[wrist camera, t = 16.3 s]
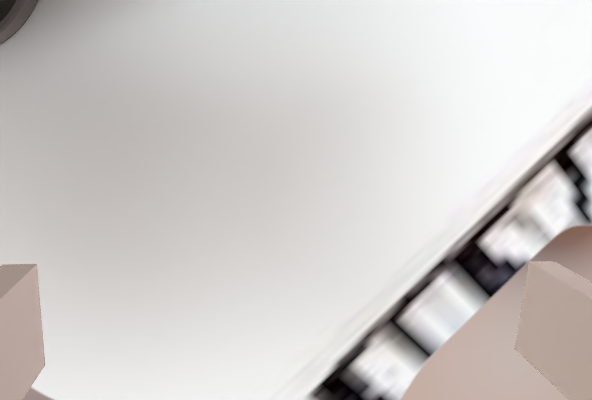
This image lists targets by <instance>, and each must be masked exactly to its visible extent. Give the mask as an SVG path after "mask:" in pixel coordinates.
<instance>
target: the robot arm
mask: <svg viewBox="0 0 592 400" xmlns="http://www.w3.org/2000/svg"><path fill="white" fill-rule="evenodd" d="M36 3H37V0H0V44H1V43H3V42H4V41H6V40H7V39H8V38H10V37H11V36H12V35H13V34H14V33H15V32H16V31H17V30H18V29H19V28H20V27H21V26H22V25H23V24H24V23H25V21H26V20H27V18H28V17H29V16H30V14H31V12H32V11H33V9H34V7H35V5H36ZM515 350H516V351H518V353H520V354H521V355H522V356H523V357H524V358H525V359H526V360H527V361H528V362H529V363H530V364H531V365H533V367H535V368H536V369H537V370H538V371H539V372H540V373H541V374H542V375H543V376H544V377H545V378H546V379H548V380H549V381H550V382H551V383H552V384H553V385H554V386H555V387H556V388H557V389H558V390H559V391H561V393H563V394H564V395H565V396H566V397H567V398H568V399H569V400H592V282H590V281H588V280H587V279H585V278H583V277H581V276H579V275H578V274H576V273H574V272H572V271H570V270H568V269H567V268H565V267H563V266H561V265H559V264H558V263H556V262H554V261H550V262H549V261H544V262H543V261H541V262H529V266H528V272H527V278H526V284H525V289H524V296H523V301H522V307H521V313H520V319H519V326H518V331H517V337H516V343H515ZM44 366H45V357H44V345H43V333H42V321H41V309H40V297H39V285H38V273H37V264H20V265H2V266H1V267H0V400H23V398H24V397H25V395H26V393H27V392H28V390H29V389H30V387H31V386H32V384H33V383H34V381H35V380H36V378H37V376H38V375H39V373H40V372H41V370H42V369H43V367H44Z"/></svg>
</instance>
